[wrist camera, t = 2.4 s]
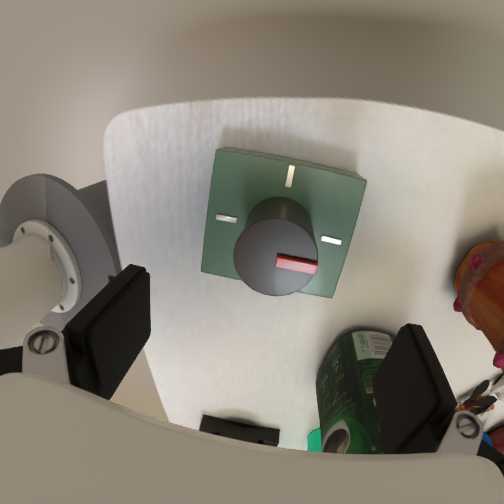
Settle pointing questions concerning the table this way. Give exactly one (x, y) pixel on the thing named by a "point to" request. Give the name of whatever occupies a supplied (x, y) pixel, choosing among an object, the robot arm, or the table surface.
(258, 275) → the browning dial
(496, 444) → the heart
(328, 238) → the dial panel
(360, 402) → the coffee jar
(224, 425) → the button block
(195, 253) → the table surface
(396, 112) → the table surface
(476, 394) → the insect
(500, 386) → the replica gun
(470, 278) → the mug
